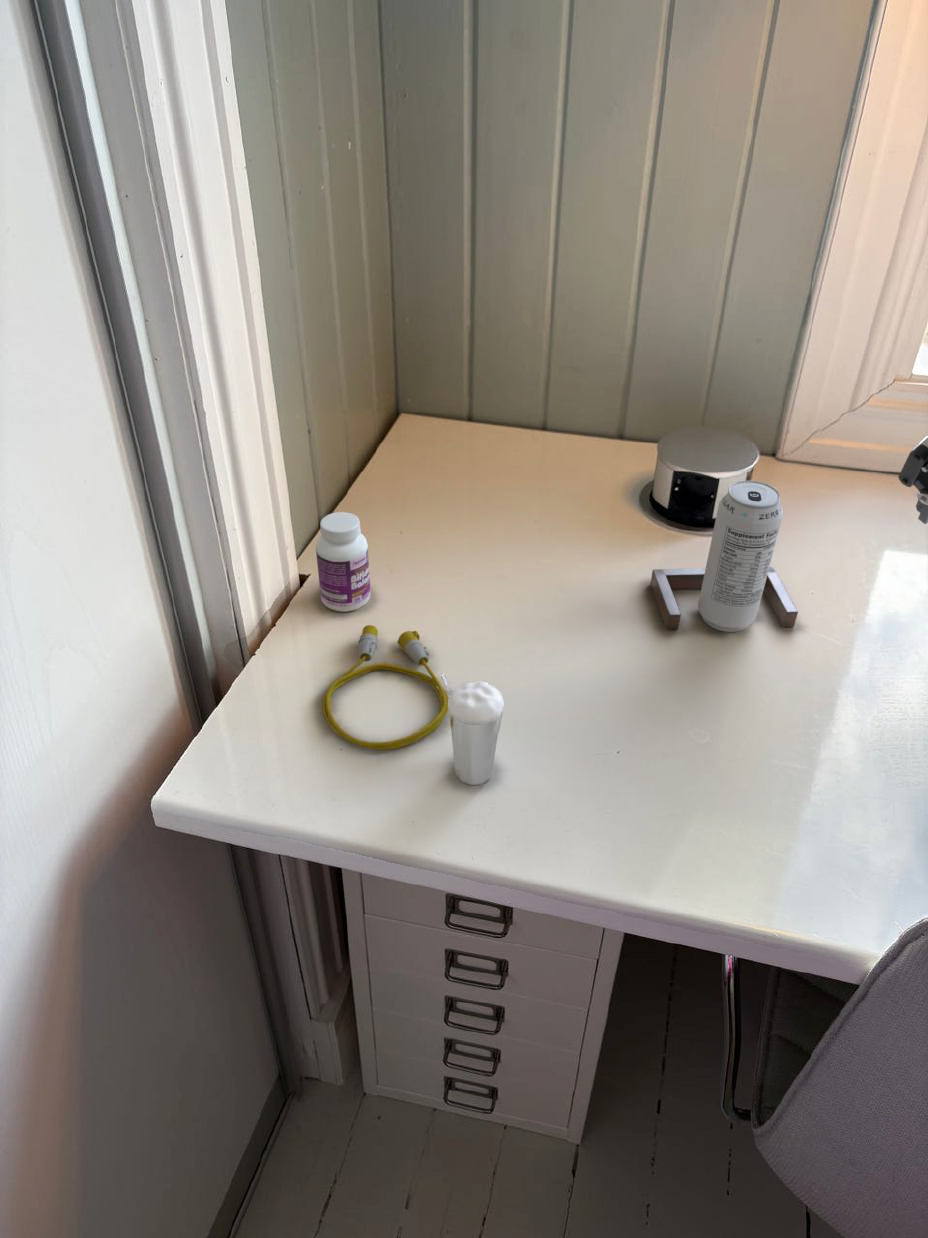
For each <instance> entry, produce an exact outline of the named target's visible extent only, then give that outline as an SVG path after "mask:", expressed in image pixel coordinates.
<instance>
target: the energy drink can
mask: <svg viewBox="0 0 928 1238" xmlns="http://www.w3.org/2000/svg"><path fill="white" fill-rule="evenodd" d="M780 501H781V494H780V492H779V491H778V490H777V489H776V488H775V487H774V486H772V485H770V484H769V483H765V482H762V481H756V480H739V481H736V482H734V483H732V484H731V485H729V487H728V491H727V493H726V494H725V495H724V496H723V497H722V498H721V499H720V500H719V502H718V507H717V511H716V517H715V521H714V526H713V531H712V535H711V540H710V545H709V551H708V554H707V561H706V564H705V568H706V569H705V574H704V579H703V584H702V588H701V589H700V594H699V598H698V602H697V603H698V604H697V610H698V612H699V613H700V615H701V617H702V618H701V619H702V620H703V622H705V624H707V625H708V626H710V627H711V628H713V629H715V630H717V631H720V632H721V631H722V632H725V633H727V632H728V633H735V632H736V633H737V632H740V631H742V630H745V629H747V627H748V626H749V625H751V624H753V623H754V622H755V621H756V619H757V618H758V612H759V609H760V605H761V601H762V598H763V593H764V586H765V582H766V578H767V574H768V570H769V567H771V562H772V559H773V554H774V552H775V546H776V542H777V539H778V535H779V531H780V528H781V523H782V519H783V515H784V510H783V508H782V505H781V503H780Z"/></svg>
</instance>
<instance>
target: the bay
mask: <svg viewBox="0 0 928 1238" xmlns="http://www.w3.org/2000/svg"><path fill="white" fill-rule="evenodd" d="M705 569H706V567H704V568H664V569H661V568H660V569H652V572H651V578H650V584H649V585H650V587H651V590H652V592H653V595H654V598H655V600H656V604H657V607H658V609H659V612H660V614H661V617H662V620H663V623H664V625H665V628H666V631H678V630H679V627H680V623H681V622H680V621H681V617H682V614H681V611H680V608H679V607H678V604H677V600H676V599H675V596H674V593H673V591H678V590H680V591H681V590H682V591H683V590H684V591H685V590H701V588H702V584H703V579H704V574H705ZM763 593H764V594H765V595H766V597H767V599H768V601H769V603H770V605H771V607H772V609H773V611H774V613H775V615H776V617H777V619H778V620H779V622H780V624H781V626H782V627H783V628H794V627H795V624H796V621H797V618H798V614H799V610H798V609H797V607H796V606H795V604H794V602H793V600H792V598H791V597H790V595H789V593H788V591H787V589H786V588H785V586H784V583H783V582H782V581H781V579H780V577H779V574H778V573H777V571H776V569H775V568H774V567H773V566H770V567H769V570H768V574H767V578H766V582H765V586H764V590H763Z"/></svg>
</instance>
